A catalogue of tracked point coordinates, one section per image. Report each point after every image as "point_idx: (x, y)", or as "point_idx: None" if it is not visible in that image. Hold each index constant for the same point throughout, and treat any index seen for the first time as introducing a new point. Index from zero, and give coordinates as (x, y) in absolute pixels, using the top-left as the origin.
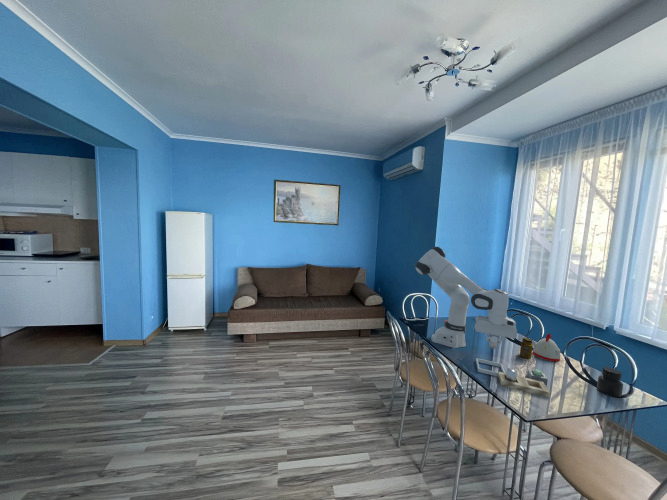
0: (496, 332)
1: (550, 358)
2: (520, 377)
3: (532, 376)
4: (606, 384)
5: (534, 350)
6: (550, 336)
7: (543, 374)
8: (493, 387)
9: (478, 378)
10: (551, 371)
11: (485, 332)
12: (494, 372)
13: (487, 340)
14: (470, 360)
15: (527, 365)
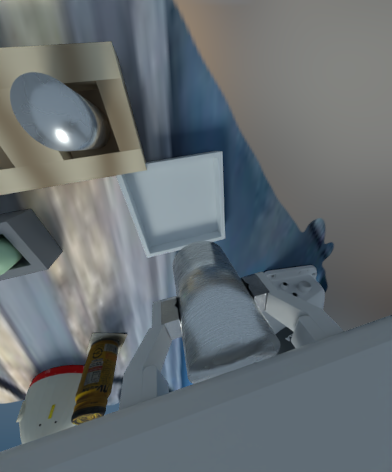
0: (256, 445)
1: (46, 377)
2: (47, 176)
3: (5, 220)
4: None
5: None
6: None
7: None
8: (147, 12)
9: (214, 87)
10: (17, 327)
11: (370, 336)
12: (160, 161)
13: (257, 275)
14: (233, 230)
15: (86, 313)
